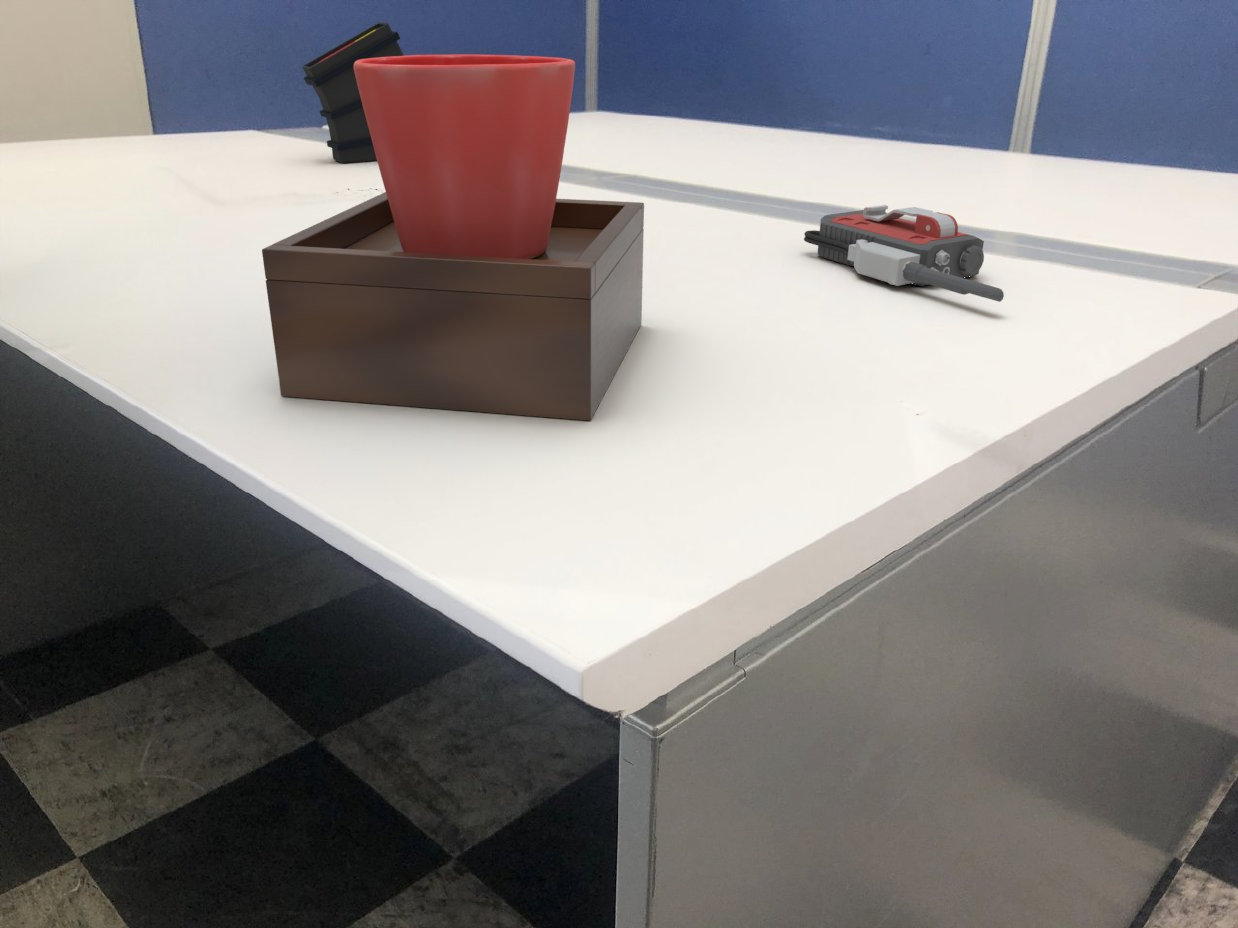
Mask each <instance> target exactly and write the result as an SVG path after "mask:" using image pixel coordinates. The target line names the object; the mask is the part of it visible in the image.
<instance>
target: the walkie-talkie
mask: <svg viewBox="0 0 1238 928" xmlns="http://www.w3.org/2000/svg"><path fill="white" fill-rule="evenodd" d="M888 209H889V205H887V204H881V205H875V206H867V207H864V208H863V209H861V210H853V211H852V210H851V211H846V212H845V211H844V212H837V213H831V214H829V213H828V214H826V215H823V216H822V217H821V218H820V222H819V230H816V229H815V230H814V229H813V230H806V231H805V232H804V233H803V234H804V238H803V241H804V242H806V243H808V244H812V245H814V246H817V255H818V256H819V257H821V258H823V259H826V260H830V261H832V262H836V263H839V264H843V265H846V266H850V267H853V266H854V267H853V268H854V269H855V271H856V273H857V274H859V275H861V276H864V277H865V276H866V277H869V278H872V279H876V280H879V281H882V282H885V283H888V284H889V285H893V286H897V287H898V286H904V285H908V284H909V285H911V284H910V283H913V284H916V285H928V284H930V285H928V286H933V287H937V288H940V289H944V290H946V291H950V292H953V293H956V294H959V295H968V294H970V295H973V296H977V297H981V298H985V299H988V300H992V301H995V302H999V303H1001V302H1002V301H1003V299H1004V297H1005V295H1004V294H1005V293H1004V291H1003V289H1001V288H1000V287H996V286H992V285H989V284H985V283H982V282H979V281H974V280H971V279H969V278H965V279H964V277H969V276H973V277H976V276H977V275H979V273H980V270H981V268H982V266H983V263H984V260H985V254H984V250H983V249H984V244H985V241H984V240H983V239H981V238H979V237H977V236H975V235H972V234H968V233H963V232H960V231H959V226H958V222H957V220H956V218H955V217H954V216H953V215H951V214H948V213H943V212H939V211H938V212H936V211H935V212H934V211H933V210H930V209H925V208H921V207H916V206H911V207H904V208H895V209H892V210H891V211H889V212H888V213H887V212H886V210H888ZM904 216H909V217H913V218H915V217H916V218H915V221H913V220H909V219H905V218H903V217H904ZM913 284H912V285H913ZM916 285H915V286H916Z"/></svg>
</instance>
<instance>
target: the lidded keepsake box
mask: <svg viewBox="0 0 1238 928" xmlns="http://www.w3.org/2000/svg"><path fill="white" fill-rule="evenodd" d="M644 225H645V202H639V201H638V202H637V201H636V202H635V201H620V200H619V201H617V200H597V199H596V200H595V199H575V198H573V199H572V198H556V203H555V208H554V214H553V219H552V224H551V229H550V235H549V240H548V246H547V249H546V251H545V252H544V253H543V254H541V255H539V256H537V257H535V258H532V259H518V258H500V257H482V256H464V255H446V254H428V253H410V252H403V250H402V247H401V243H400V240H399V236H398V233H397V230H396V226H395V222H394V219H393V215H392V212H391V208H390V205H389V201H388V198H387V194H386V191H383V192H382V193H379V195H376V196H374V197H372V198H369V199H367V200H365V201H363V202H361V203H359V204H357V205H354V206H352V207H349V208H348V209H346V210H344V211H341V212H339V213H337V214H335V215H333V216H331V217H329V218H326V219H324V220H322V221H320V222H318V223H316V224H313V225H311V226H309V227H306V228H304V229H303V230H300V231H298V232H296V233H294V234H292V235H290V236H287V237H285V238H283V239H281V240H279V241H277V242H275V243H272V244H270V245H268V246H266V247H264V248H262V249H261V255H262V262H263V269H264V276H265V277H264V278H265V287H266V293H267V302H268V308H269V315H270V325H271V330H272V339H273V345H274V353H275V360H276V361H275V362H276V367H277V368H276V369H277V375H278V382H279V390H280V396H281V397H287V398H288V397H289V398H299V399H313V400H327V401H337V402H339V401H340V402H350V403H351V402H352V403H363V404H364V403H365V404H375V405H390V406H400V407H414V408H426V409H439V410H453V411H463V412H465V411H466V412H476V413H477V412H478V413H490V414H500V415H501V414H502V415H514V416H515V415H516V416H527V417H528V416H529V417H541V418H551V419H563V420H564V419H565V420H577V421H578V420H579V421H592V419H593V417H594V415H595V413H596V411H597V409H598V407H599V405H600V403H601V401H602V400H603V398H604V397H605V394H606V392H607V390H608V388H609V386H610V384H611V383H612V381H613V379H614V377H615V375H616V373H617V371H618V370H619V368H620V365H621V364H622V362H623V360H624V358H625V357H626V355H627V352H628V350H629V348H630V346H631V345H632V344H633V341H634V339H635V337H636V335H637V334H638V332H639V330H640V328H641V326H642V321H643V320H642V316H643V315H642V314H643V271H644V232H645V231H644V229H645V228H644V227H645V226H644Z"/></svg>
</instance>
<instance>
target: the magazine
mask: <svg viewBox="0 0 1238 928" xmlns="http://www.w3.org/2000/svg"><path fill="white" fill-rule="evenodd" d="M400 39H401V36H400V34H399V31H393V30H392V28H391V26H390V23H388V22H381V21H380V22H377V23H374V25H372V26H370V27H368V28H366V29H365V30H363V31H361V32H359V33H358V34H356V35H354V36H353V37H351V38H349V39H347V40H345V41H343V42H341V43H340V44H339V45H336V46H335V47H333V48H331V49H329V50H328V51H327V52H325V53H323V54H321V55H319V56H317V57H316V58H314V59H312V60H310V61H309V62H307V63H305V64H304V65H302V66H301V68H302V70H303V71H304V74H305V75H306V76H304V77H303V80H304V82H305V83H306V85H309V86H312V87H313V90H314V92H315V93H316V95H317V97H318V98H319V99H318V100H319V102H320V104H321V107H322V109H320V110H319V114H320V117H323V118H325V119H326V123H327V127H328V131H329V136H330V137H329V138H330V139H328V140H327V141H326V147H328V148H331V153H332V159H333V160H334V161H336V162H338V163H341V164H350V163H365V162H377V158H376V154H375V151H374V147H373V143H372V139H371V135H370V131H369V128H368V124H367V120H366V116H365V112H364V109H363V105H362V101H361V97H360V93H359V89H358V85H357V81H356V77H355V72H354V63H355V61H357V60H360V59H367V58H379V57H392V56H405V55H404V53H403V50H402V48H401V47H400V44H399V42H398V41H399V40H400Z"/></svg>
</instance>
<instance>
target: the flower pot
mask: <svg viewBox="0 0 1238 928" xmlns="http://www.w3.org/2000/svg"><path fill="white" fill-rule="evenodd" d="M354 72H355V77H356V81H357V85H358V89H359V93H360V97H361V101H362V105H363V109H364V112H365V116H366V120H367V124H368V128H369V131H370V135H371V139H372V143H373V147H374V151H375V154H376V158H377V161H376V163H377V165H378V169H379V172H380V173H379V174H380V176H381V179H382V184H383V187H384V192H386V194H387V198H388V201H389V205H390V208H391V212H392V215H393V219H394V222H395V226H396V230H397V233H398V236H399V240H400V243H401V247H402V250H403V252H410V253H428V254H446V255H464V256H482V257H500V258H518V259H532V258H535V257H537V256H539V255H541V254H543V253H544V252H545V251H546V249H547V246H548V240H549V235H550V229H551V224H552V219H553V214H554V208H555V203H556V199H557V195H558V190H559V184H560V179H561V172H562V166H563V162H564V161H563V160H564V152H565V146H566V141H567V133H568V128H569V127H568V126H569V119H570V111H571V104H572V97H573V89H574V82H575V72H576V62H575V61H574V60H573V59H570V58H564V57H555V56H554V57H553V56H552V57H551V56H550V57H549V56H537V55H535V56H533V55H513V54H512V55H511V54H510V55H509V54H467V53H465V54H461V53H460V54H459V53H457V54H409V55H404V56H392V57H379V58H367V59H360V60H357V61H355V63H354Z"/></svg>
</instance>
